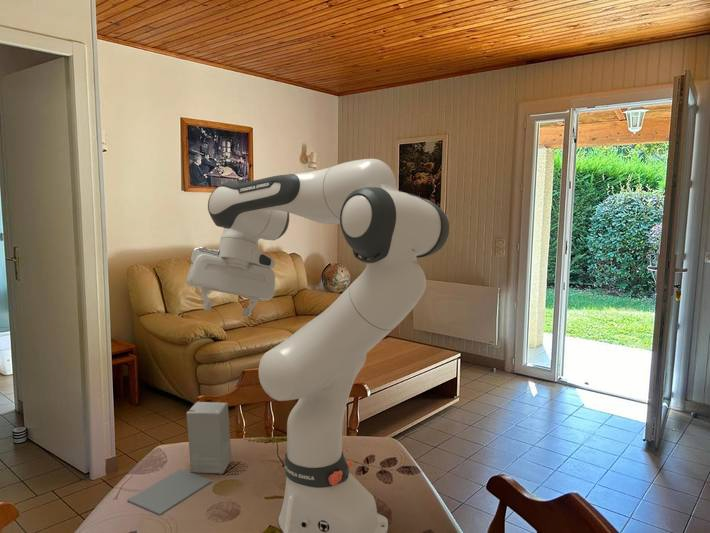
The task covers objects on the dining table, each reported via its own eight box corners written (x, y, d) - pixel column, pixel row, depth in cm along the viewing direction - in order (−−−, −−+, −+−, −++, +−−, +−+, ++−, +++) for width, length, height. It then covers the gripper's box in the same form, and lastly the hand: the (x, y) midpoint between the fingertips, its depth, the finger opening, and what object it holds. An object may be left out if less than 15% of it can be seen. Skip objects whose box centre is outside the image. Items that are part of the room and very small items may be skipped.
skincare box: (231, 461, 131) (231, 401, 129) (221, 476, 124) (220, 412, 122) (198, 459, 132) (197, 399, 129) (187, 474, 124) (185, 410, 122)
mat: (212, 482, 121) (212, 480, 121) (159, 515, 108) (159, 513, 108) (181, 470, 126) (180, 468, 126) (127, 501, 113) (127, 499, 113)
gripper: (197, 242, 116) (185, 304, 113) (281, 262, 126) (272, 319, 123) (189, 246, 121) (178, 305, 118) (271, 265, 131) (262, 320, 128)
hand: (226, 313), depth 121 cm, fingers open, 8 cm apart
